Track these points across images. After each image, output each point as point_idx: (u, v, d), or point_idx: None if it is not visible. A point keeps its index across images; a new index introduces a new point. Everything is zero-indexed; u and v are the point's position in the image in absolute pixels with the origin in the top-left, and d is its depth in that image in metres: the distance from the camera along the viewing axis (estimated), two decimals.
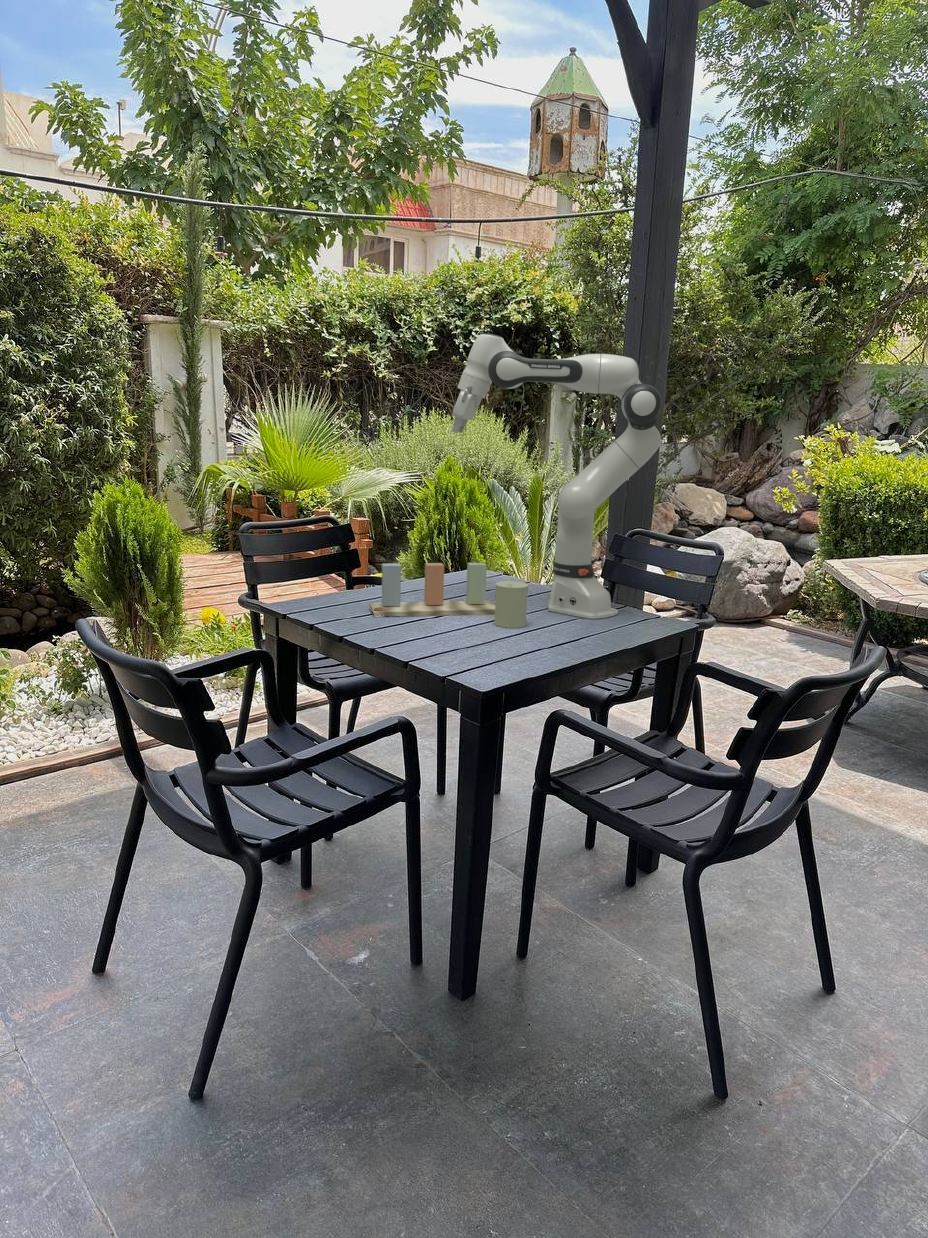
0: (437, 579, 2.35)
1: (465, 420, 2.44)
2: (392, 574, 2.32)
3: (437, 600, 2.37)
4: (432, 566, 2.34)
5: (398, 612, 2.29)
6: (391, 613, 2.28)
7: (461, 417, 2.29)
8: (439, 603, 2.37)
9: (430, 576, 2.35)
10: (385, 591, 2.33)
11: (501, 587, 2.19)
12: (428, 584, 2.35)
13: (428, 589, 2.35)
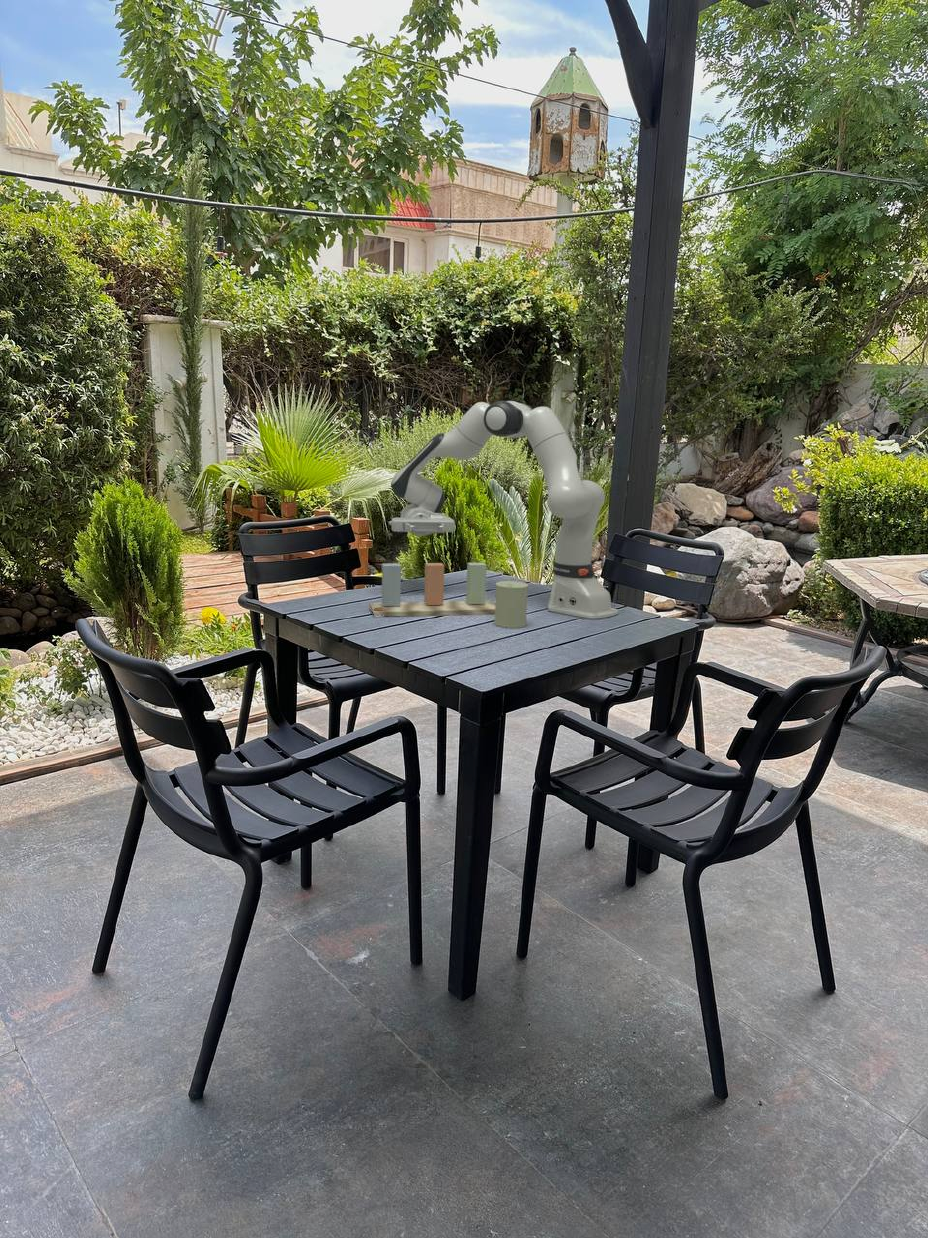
0: (437, 579, 2.35)
1: (440, 525, 2.51)
2: (392, 574, 2.32)
3: (437, 600, 2.37)
4: (432, 566, 2.34)
5: (398, 612, 2.29)
6: (391, 613, 2.28)
7: (393, 522, 2.48)
8: (439, 603, 2.37)
9: (430, 576, 2.35)
10: (385, 591, 2.33)
11: (501, 587, 2.19)
12: (428, 584, 2.35)
13: (428, 589, 2.35)
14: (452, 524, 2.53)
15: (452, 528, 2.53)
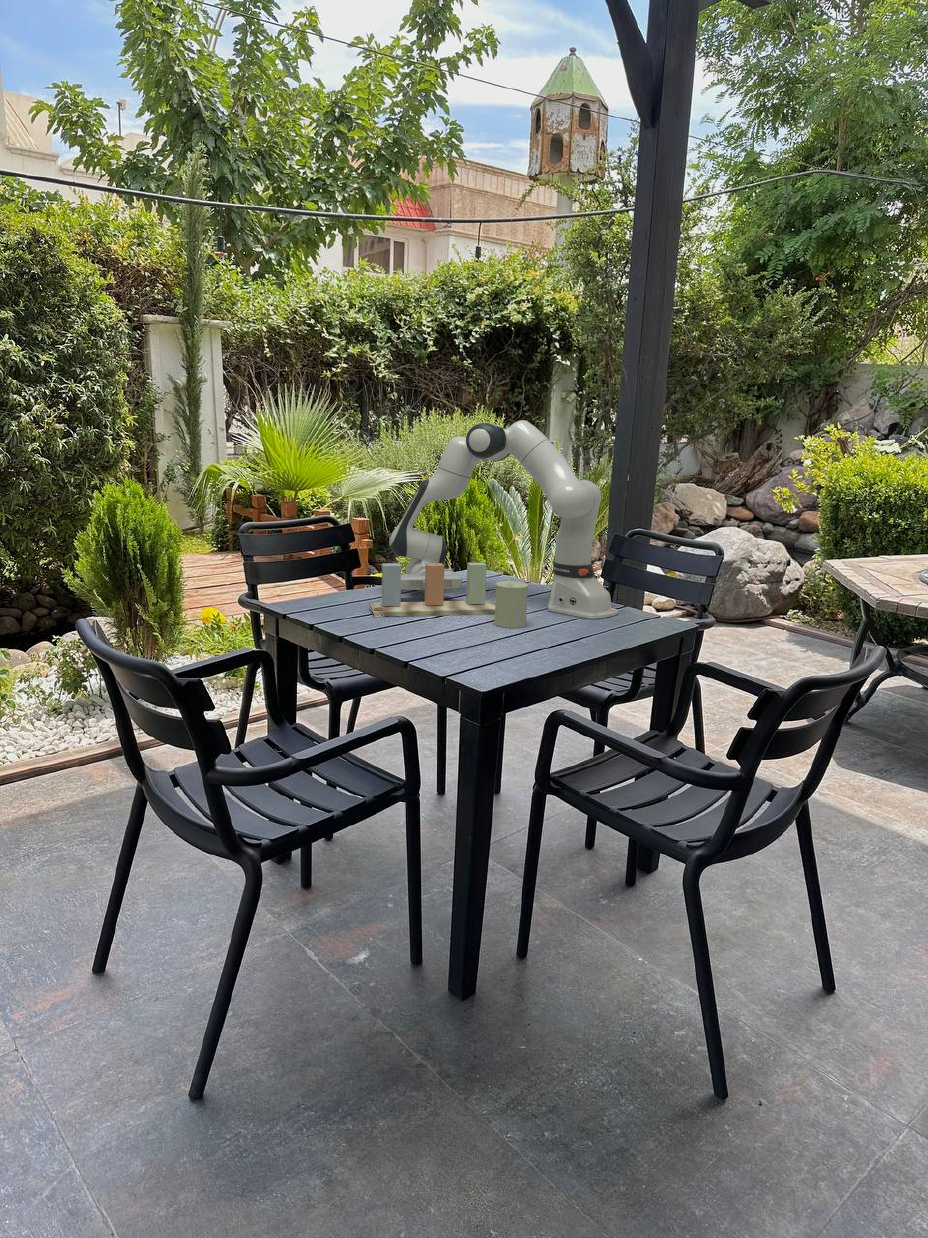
0: (438, 579, 2.35)
1: None
2: (392, 574, 2.32)
3: (438, 601, 2.37)
4: (432, 566, 2.34)
5: (398, 612, 2.29)
6: (391, 613, 2.28)
7: None
8: (439, 603, 2.37)
9: (430, 576, 2.34)
10: (385, 591, 2.33)
11: (501, 587, 2.19)
12: (428, 584, 2.35)
13: (428, 589, 2.35)
14: (459, 581, 2.46)
15: (459, 585, 2.46)
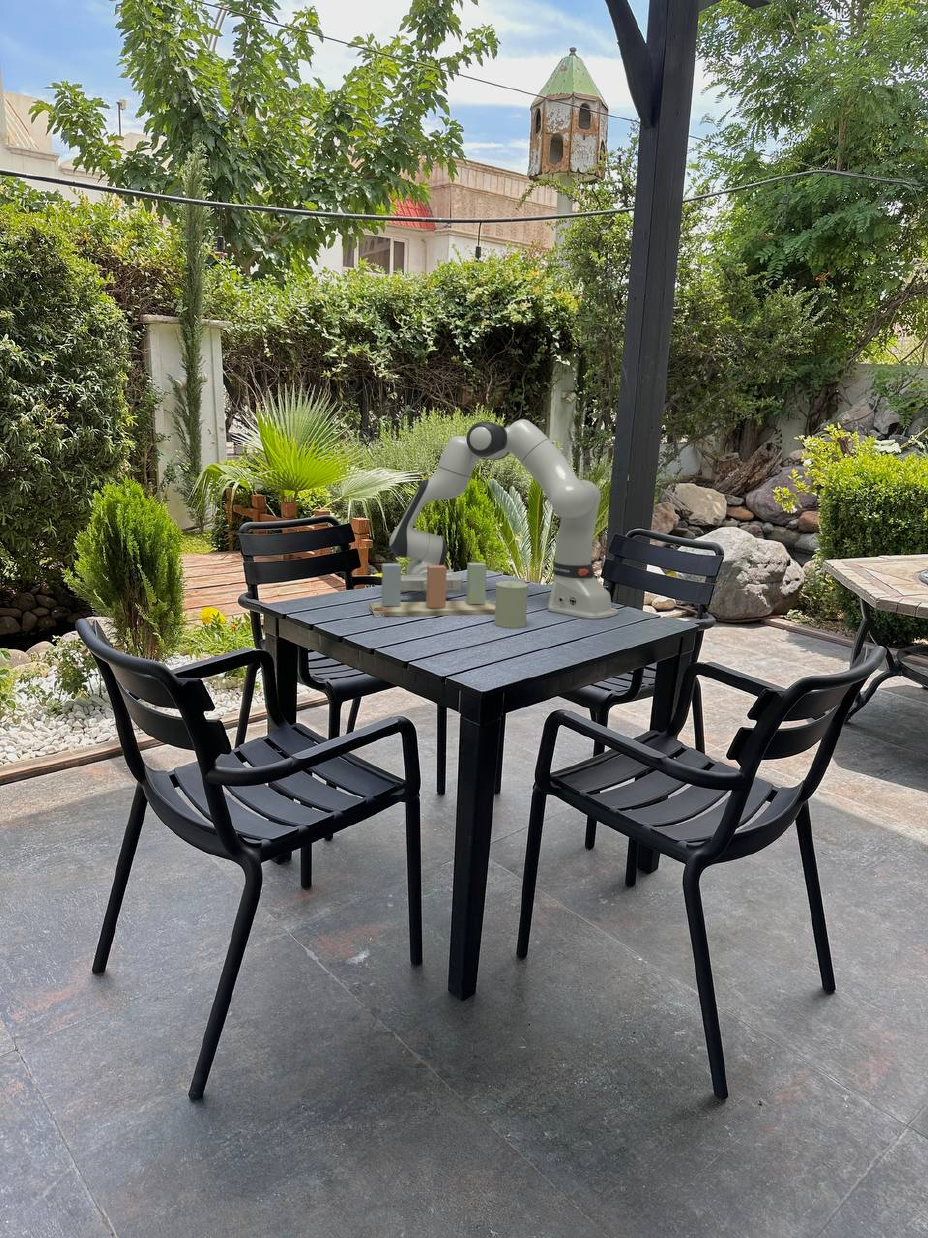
0: (440, 581, 2.32)
1: None
2: (392, 574, 2.32)
3: (440, 603, 2.34)
4: (434, 568, 2.31)
5: (398, 612, 2.29)
6: (391, 613, 2.28)
7: None
8: (441, 606, 2.34)
9: (432, 578, 2.31)
10: (385, 591, 2.33)
11: (501, 587, 2.19)
12: (430, 586, 2.32)
13: (430, 591, 2.32)
14: (460, 582, 2.44)
15: (460, 586, 2.44)
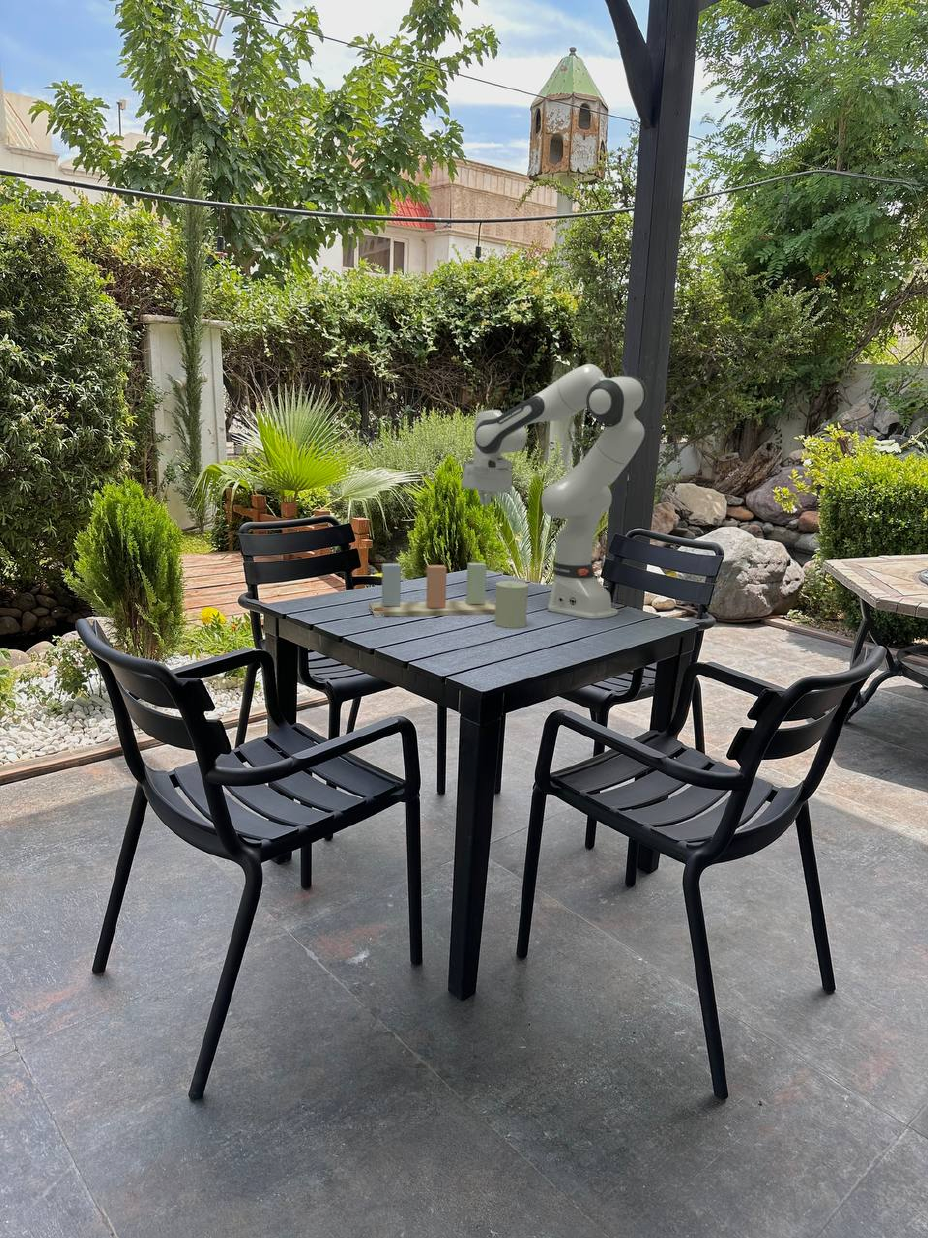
0: (440, 581, 2.32)
1: None
2: (392, 574, 2.32)
3: (440, 603, 2.34)
4: (434, 568, 2.31)
5: (398, 612, 2.29)
6: (391, 613, 2.28)
7: None
8: (441, 606, 2.34)
9: (432, 578, 2.31)
10: (385, 591, 2.33)
11: (501, 587, 2.19)
12: (430, 586, 2.32)
13: (430, 591, 2.32)
14: (503, 492, 2.50)
15: (506, 492, 2.51)
